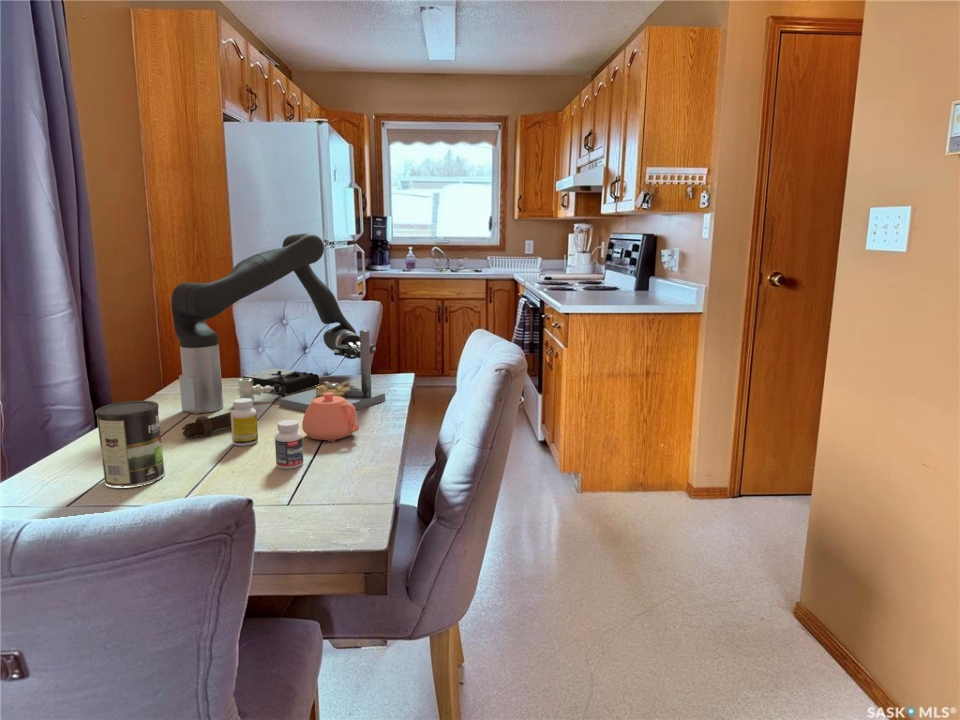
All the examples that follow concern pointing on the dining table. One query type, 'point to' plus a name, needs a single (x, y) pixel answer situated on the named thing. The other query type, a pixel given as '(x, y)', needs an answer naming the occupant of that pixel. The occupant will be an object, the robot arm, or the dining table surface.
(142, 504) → the dining table surface
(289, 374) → the multimeter
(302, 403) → the base plate
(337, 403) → the sugar bowl
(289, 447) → the pill bottle
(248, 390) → the valve
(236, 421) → the supplement bottle
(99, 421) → the coffee can
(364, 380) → the brass hub with handle
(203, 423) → the bolt
